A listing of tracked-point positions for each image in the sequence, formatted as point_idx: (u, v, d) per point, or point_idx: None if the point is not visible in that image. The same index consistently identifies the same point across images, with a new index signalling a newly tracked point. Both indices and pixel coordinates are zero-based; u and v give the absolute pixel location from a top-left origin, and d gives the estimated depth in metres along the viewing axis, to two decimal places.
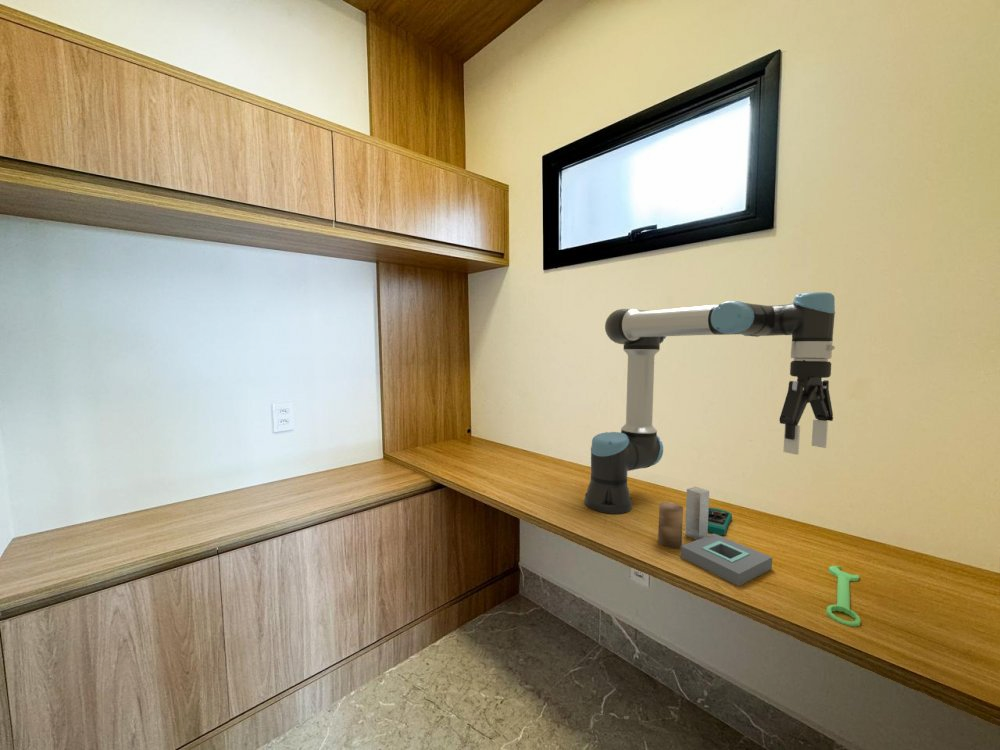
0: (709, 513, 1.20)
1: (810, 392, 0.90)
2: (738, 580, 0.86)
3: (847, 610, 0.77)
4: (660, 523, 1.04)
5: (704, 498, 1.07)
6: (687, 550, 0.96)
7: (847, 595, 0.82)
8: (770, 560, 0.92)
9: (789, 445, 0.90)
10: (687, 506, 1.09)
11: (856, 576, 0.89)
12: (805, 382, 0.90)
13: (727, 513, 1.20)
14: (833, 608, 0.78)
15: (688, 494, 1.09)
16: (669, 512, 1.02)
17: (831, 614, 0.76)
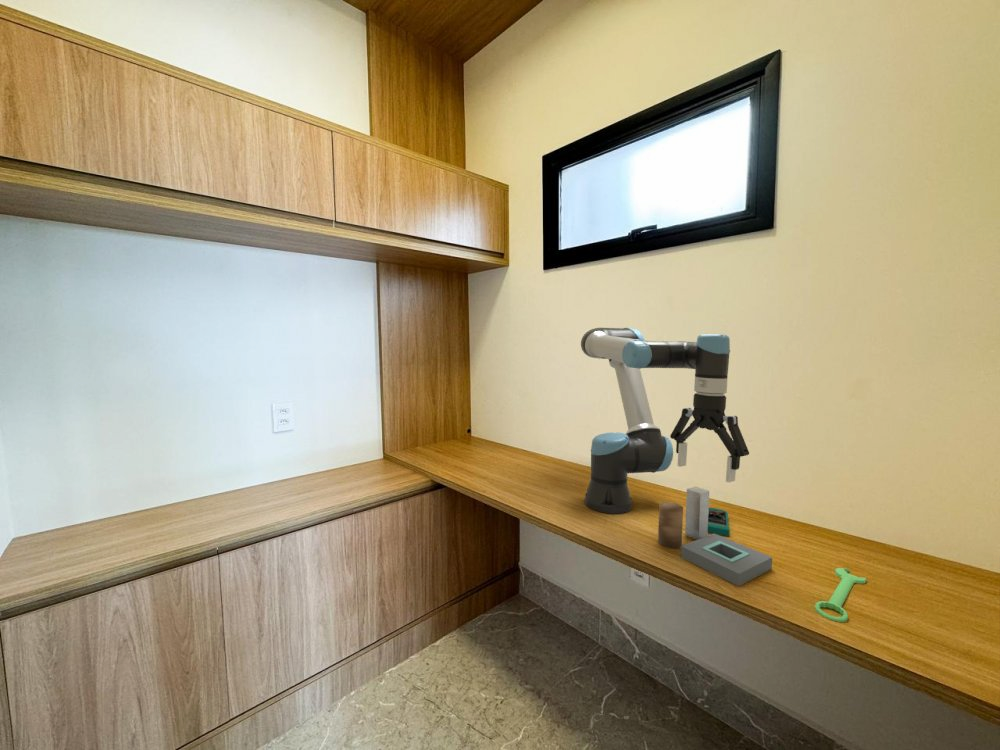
0: (708, 513, 1.19)
1: None
2: (738, 580, 0.86)
3: (836, 607, 0.78)
4: (660, 523, 1.04)
5: (704, 498, 1.07)
6: (687, 550, 0.96)
7: (843, 594, 0.82)
8: (770, 560, 0.92)
9: None
10: (687, 506, 1.09)
11: (862, 579, 0.88)
12: (693, 410, 1.06)
13: (724, 512, 1.20)
14: (823, 604, 0.79)
15: (688, 494, 1.09)
16: (669, 512, 1.02)
17: (818, 609, 0.77)
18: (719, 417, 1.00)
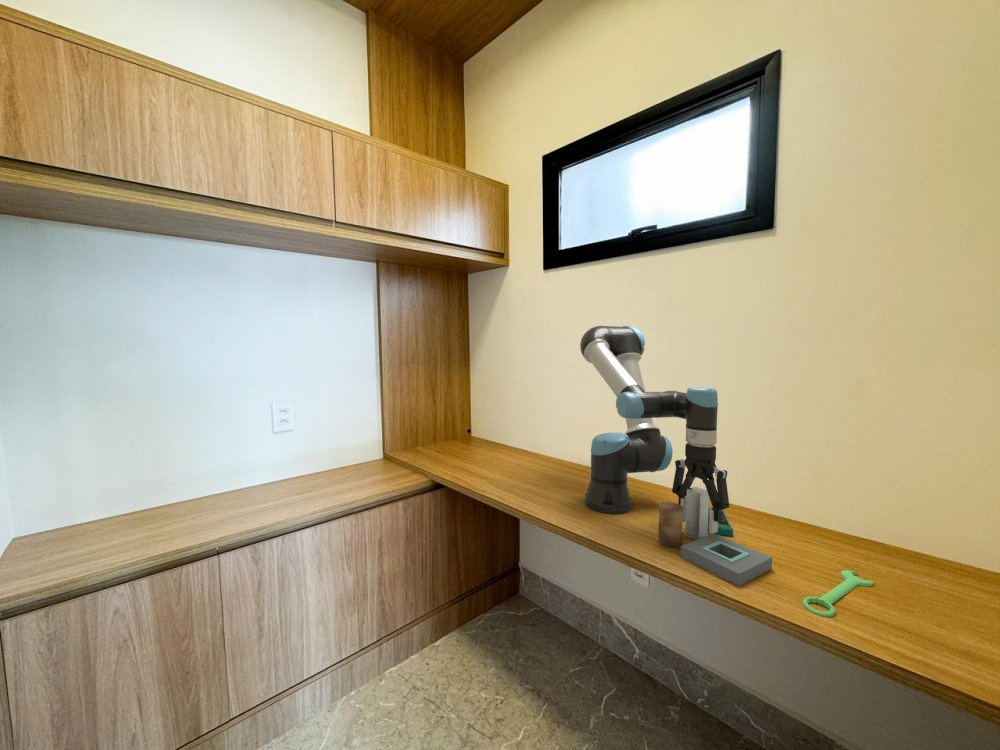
0: None
1: None
2: (738, 580, 0.86)
3: (825, 603, 0.79)
4: (660, 523, 1.04)
5: (704, 498, 1.07)
6: (687, 550, 0.96)
7: (839, 593, 0.82)
8: (770, 560, 0.92)
9: None
10: (687, 506, 1.09)
11: (868, 582, 0.87)
12: (684, 460, 1.11)
13: (721, 511, 1.21)
14: (812, 600, 0.80)
15: (688, 494, 1.09)
16: (669, 512, 1.02)
17: (805, 603, 0.79)
18: (710, 468, 1.04)
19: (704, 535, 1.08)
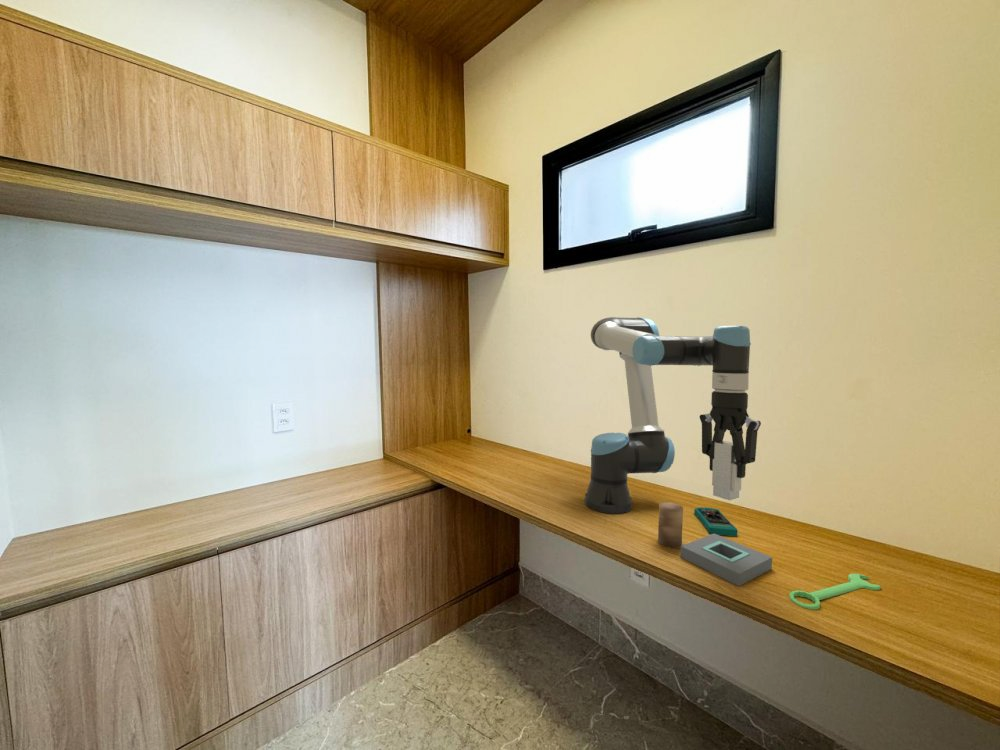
0: (706, 514, 1.19)
1: None
2: (738, 580, 0.86)
3: (813, 597, 0.81)
4: (660, 523, 1.04)
5: None
6: (687, 550, 0.96)
7: (833, 591, 0.83)
8: (770, 560, 0.92)
9: None
10: (715, 462, 0.95)
11: (874, 586, 0.85)
12: (710, 412, 0.98)
13: (717, 510, 1.22)
14: (800, 593, 0.82)
15: (716, 448, 0.95)
16: (669, 512, 1.02)
17: (791, 595, 0.82)
18: (742, 417, 0.91)
19: (736, 495, 0.94)
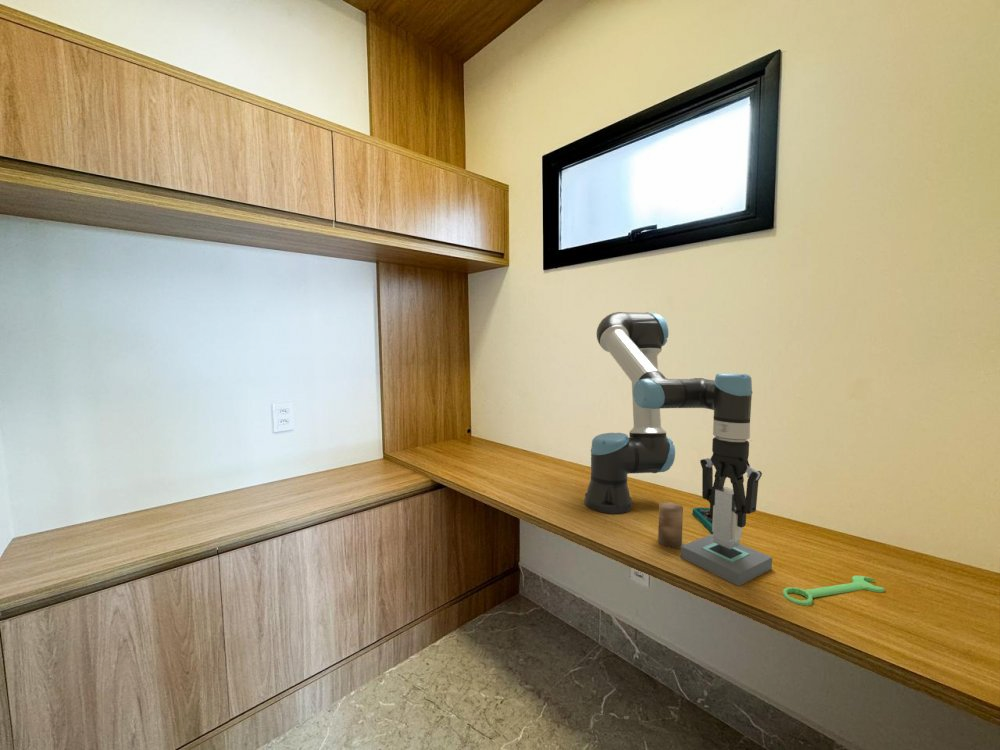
0: (705, 514, 1.19)
1: None
2: (738, 580, 0.86)
3: (806, 594, 0.82)
4: (660, 523, 1.04)
5: None
6: (687, 550, 0.96)
7: (830, 590, 0.83)
8: (770, 560, 0.92)
9: None
10: (716, 509, 0.95)
11: (877, 588, 0.85)
12: None
13: None
14: (794, 590, 0.84)
15: (717, 495, 0.94)
16: (669, 512, 1.02)
17: (784, 591, 0.83)
18: (743, 467, 0.90)
19: (736, 543, 0.93)
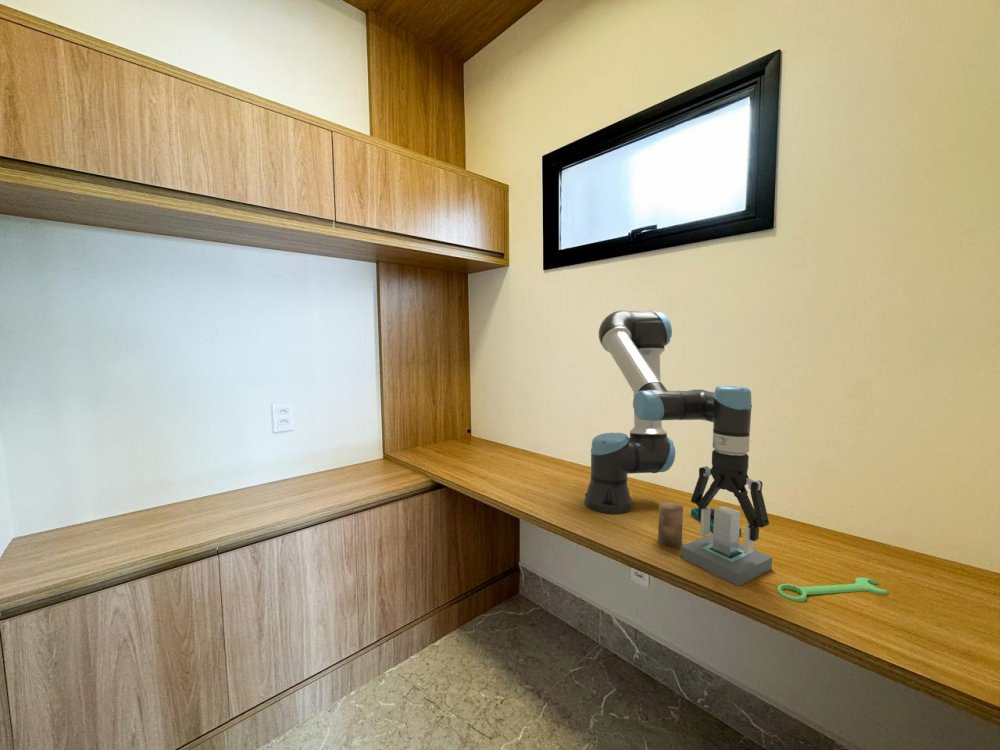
0: None
1: None
2: (738, 580, 0.86)
3: (801, 591, 0.83)
4: (660, 523, 1.04)
5: (735, 520, 0.93)
6: (687, 550, 0.96)
7: (827, 589, 0.84)
8: (770, 560, 0.92)
9: None
10: (715, 529, 0.95)
11: (879, 590, 0.84)
12: (710, 469, 0.97)
13: (713, 510, 1.22)
14: (790, 587, 0.85)
15: (716, 515, 0.95)
16: (669, 512, 1.02)
17: (778, 587, 0.85)
18: (742, 479, 0.90)
19: None
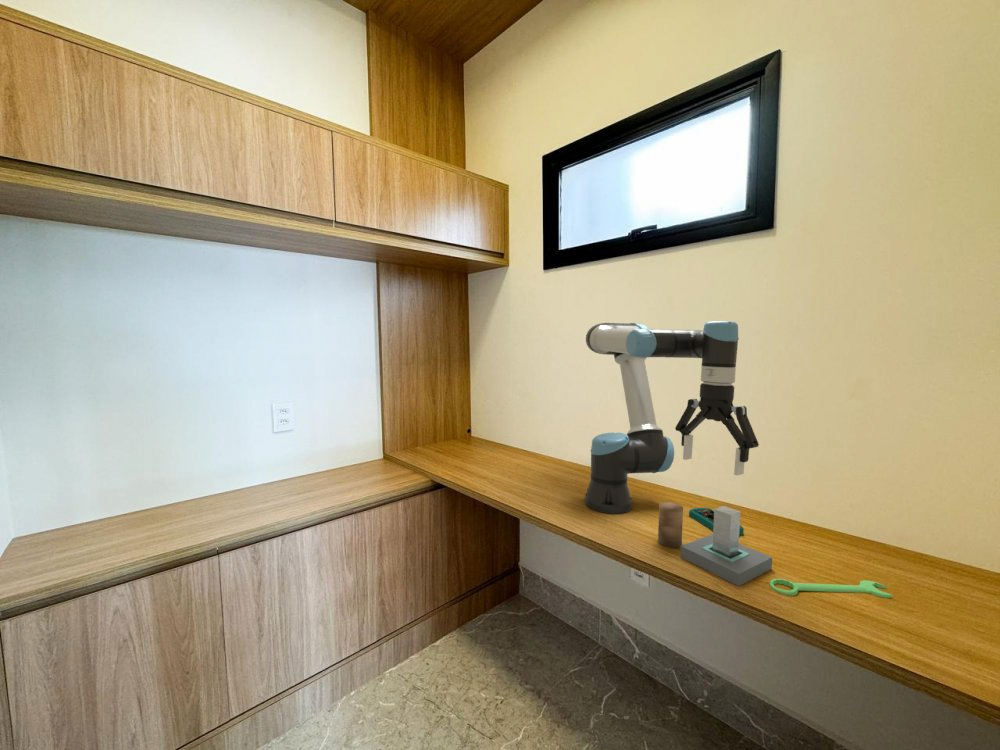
0: (704, 515, 1.18)
1: None
2: (738, 580, 0.86)
3: (793, 586, 0.84)
4: (660, 523, 1.04)
5: (735, 520, 0.93)
6: (687, 550, 0.96)
7: (823, 587, 0.84)
8: (770, 560, 0.92)
9: None
10: (715, 529, 0.95)
11: (882, 593, 0.83)
12: (699, 401, 1.02)
13: (709, 510, 1.22)
14: (783, 582, 0.87)
15: (716, 515, 0.95)
16: (669, 512, 1.02)
17: (771, 581, 0.87)
18: (727, 407, 0.96)
19: None
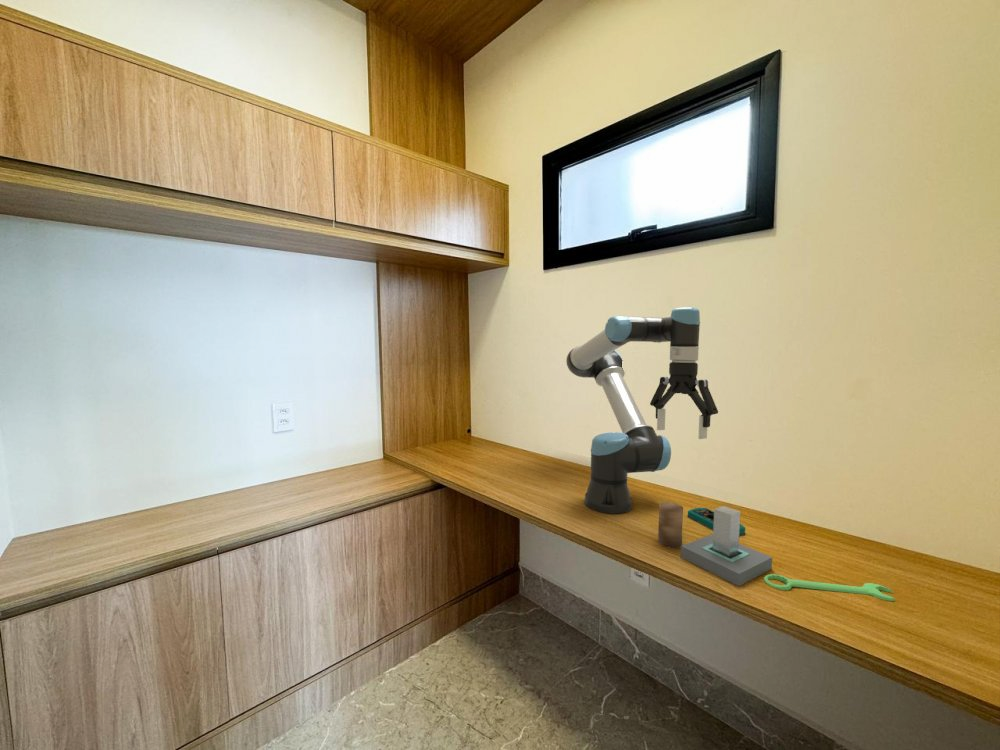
0: (704, 515, 1.18)
1: None
2: (738, 580, 0.86)
3: (787, 582, 0.86)
4: (660, 523, 1.04)
5: (735, 520, 0.93)
6: (687, 550, 0.96)
7: (820, 585, 0.85)
8: (770, 560, 0.92)
9: None
10: (715, 529, 0.95)
11: (884, 595, 0.82)
12: (669, 378, 1.18)
13: (707, 509, 1.22)
14: (779, 577, 0.88)
15: (716, 515, 0.95)
16: (669, 512, 1.02)
17: (766, 576, 0.89)
18: (691, 381, 1.11)
19: None
